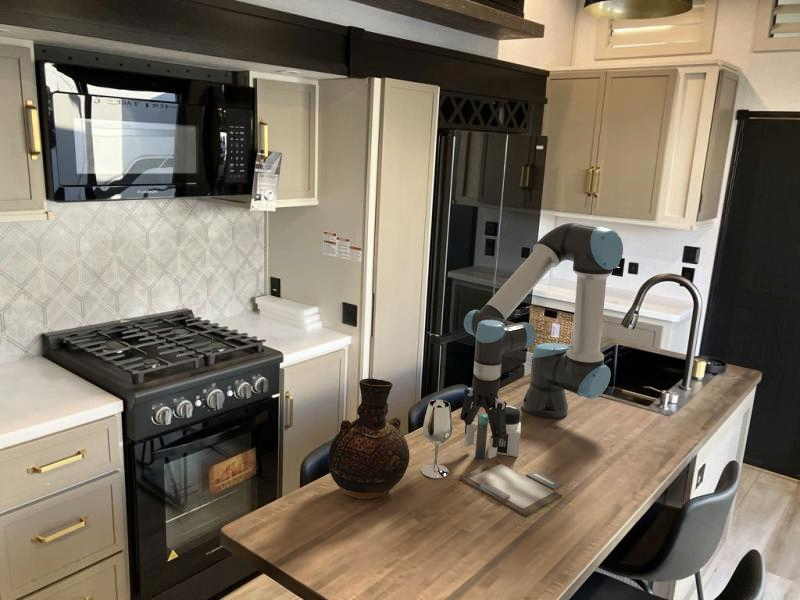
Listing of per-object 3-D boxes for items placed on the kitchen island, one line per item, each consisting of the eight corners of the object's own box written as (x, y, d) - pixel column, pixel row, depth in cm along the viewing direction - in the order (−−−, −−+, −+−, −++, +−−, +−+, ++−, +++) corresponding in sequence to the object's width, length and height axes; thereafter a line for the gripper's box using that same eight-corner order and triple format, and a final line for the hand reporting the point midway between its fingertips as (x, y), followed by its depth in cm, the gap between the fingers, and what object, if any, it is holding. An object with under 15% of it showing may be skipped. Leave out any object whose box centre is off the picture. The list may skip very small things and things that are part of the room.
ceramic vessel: (336, 517, 153) (339, 399, 146) (319, 480, 169) (321, 372, 162) (418, 503, 161) (425, 391, 153) (395, 469, 176) (400, 366, 169)
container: (518, 457, 186) (522, 415, 183) (491, 453, 188) (494, 412, 185) (518, 445, 194) (522, 405, 191) (492, 442, 195) (496, 402, 192)
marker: (479, 454, 187) (483, 412, 184) (487, 458, 185) (491, 416, 182) (472, 457, 185) (475, 415, 182) (480, 461, 183) (483, 419, 180)
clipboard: (496, 463, 182) (497, 458, 182) (561, 497, 167) (562, 491, 166) (459, 479, 173) (460, 474, 172) (525, 517, 157) (526, 511, 156)
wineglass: (434, 461, 182) (438, 395, 177) (455, 472, 176) (460, 404, 171) (414, 470, 176) (418, 402, 171) (435, 482, 171) (440, 412, 166)
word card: (534, 471, 179) (534, 470, 179) (561, 485, 172) (561, 483, 172) (526, 475, 176) (526, 474, 176) (553, 489, 170) (553, 488, 170)
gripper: (450, 367, 184) (445, 440, 190) (507, 390, 169) (499, 469, 175) (468, 362, 189) (463, 434, 195) (525, 384, 174) (517, 461, 179)
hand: (480, 450), depth 185 cm, fingers open, 8 cm apart
